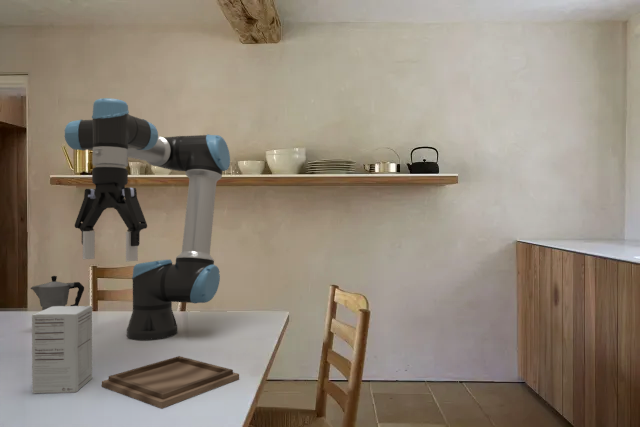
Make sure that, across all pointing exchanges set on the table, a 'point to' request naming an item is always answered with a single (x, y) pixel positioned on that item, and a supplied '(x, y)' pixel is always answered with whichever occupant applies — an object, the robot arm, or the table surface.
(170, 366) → the walnut tray
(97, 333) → the table surface
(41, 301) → the coffeepot
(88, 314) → the supplement box
